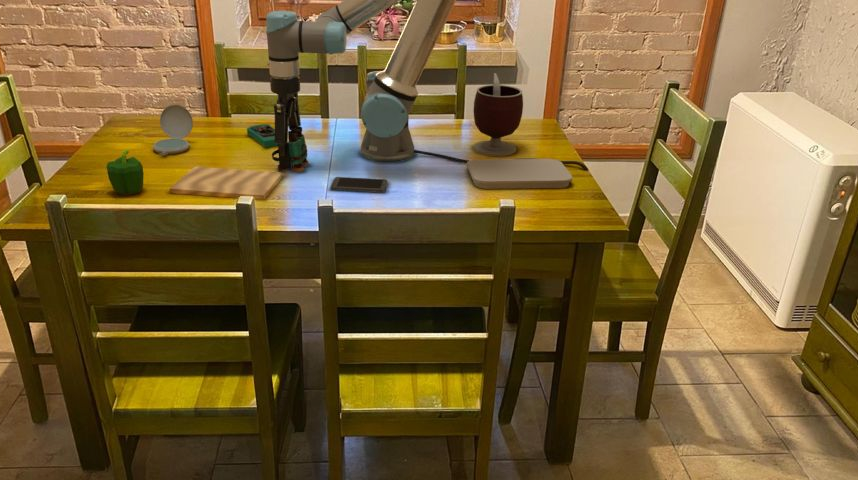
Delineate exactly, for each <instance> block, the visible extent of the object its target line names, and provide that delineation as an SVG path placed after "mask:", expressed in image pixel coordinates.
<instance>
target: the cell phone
mask: <svg viewBox="0 0 858 480" xmlns="http://www.w3.org/2000/svg"><path fill="white" fill-rule="evenodd" d="M388 183H389V181H388V179H386V178H371V177H369V178H368V177H367V178H366V177H350V176H349V177H348V176H347V177H345V176H336V177H334V178H333V180H332V182H331V184H330V189H331V190H332V191H346V192H347V191H349V192H365V193H366V192H367V193H368V192H369V193H385V192H386V190H387V187H388Z"/></svg>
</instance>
